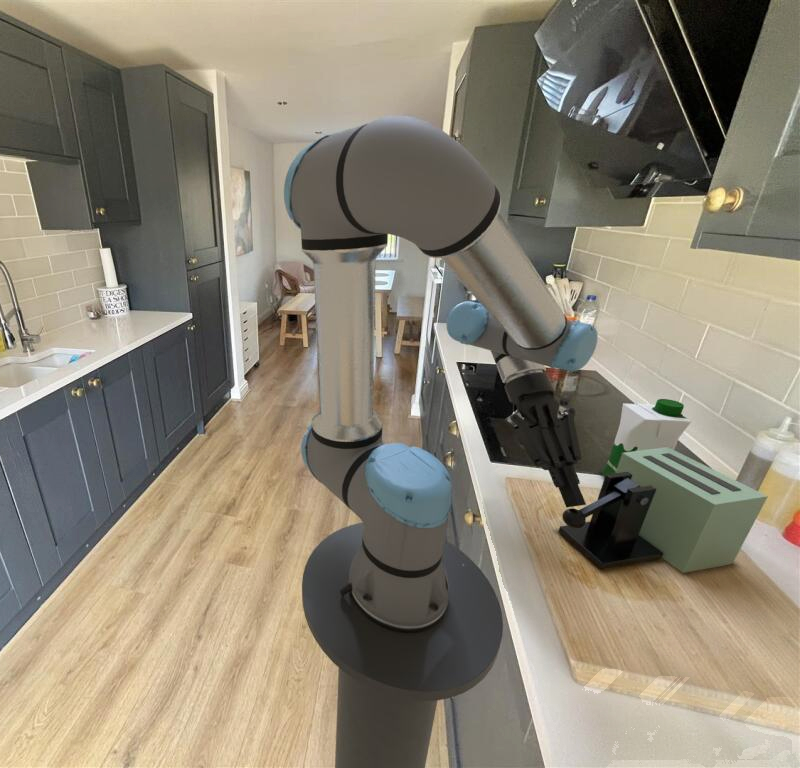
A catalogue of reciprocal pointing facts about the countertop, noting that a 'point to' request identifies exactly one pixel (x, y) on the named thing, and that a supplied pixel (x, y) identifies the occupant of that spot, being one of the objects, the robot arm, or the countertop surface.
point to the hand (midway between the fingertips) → (576, 505)
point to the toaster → (692, 508)
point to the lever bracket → (616, 528)
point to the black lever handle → (597, 504)
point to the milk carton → (647, 429)
